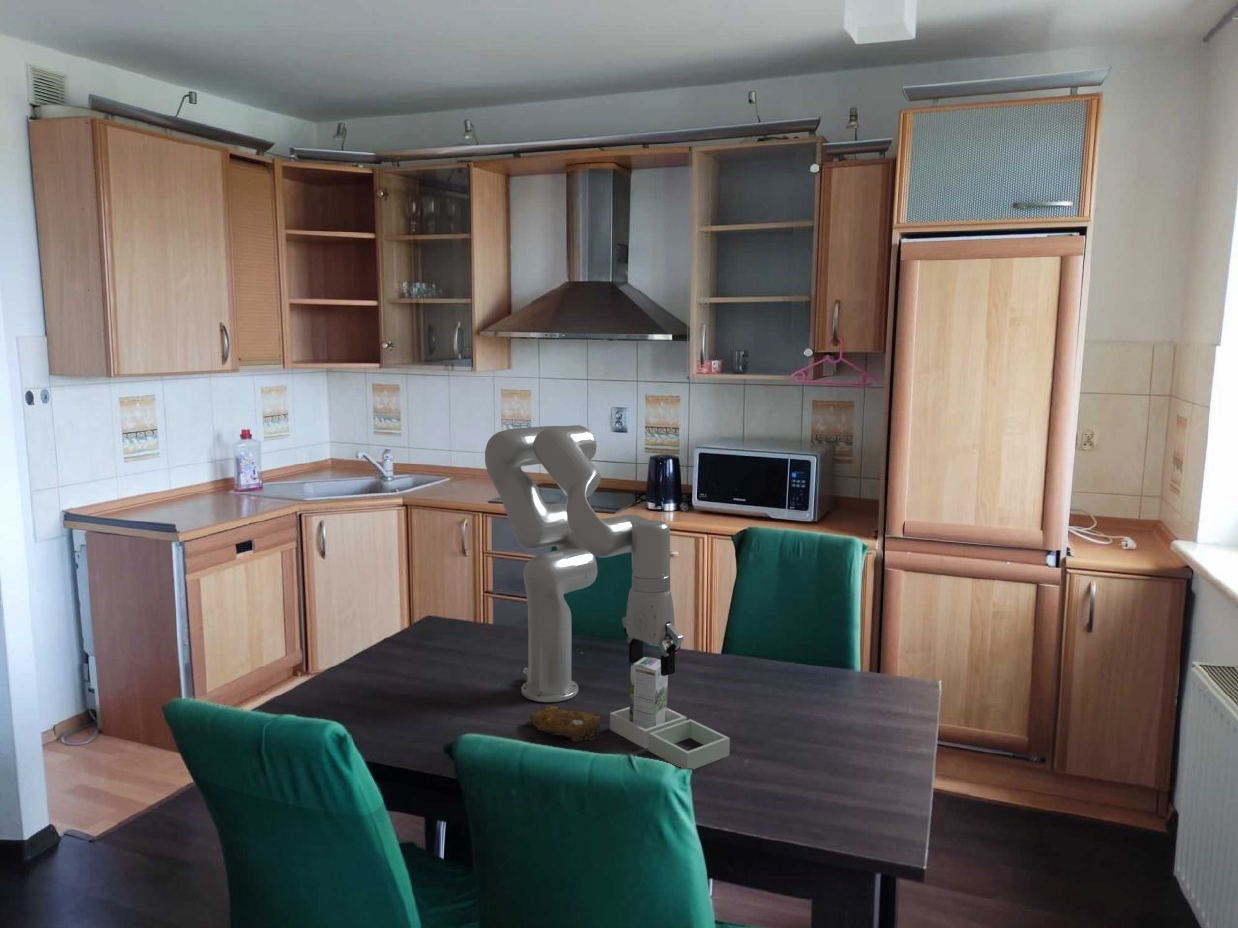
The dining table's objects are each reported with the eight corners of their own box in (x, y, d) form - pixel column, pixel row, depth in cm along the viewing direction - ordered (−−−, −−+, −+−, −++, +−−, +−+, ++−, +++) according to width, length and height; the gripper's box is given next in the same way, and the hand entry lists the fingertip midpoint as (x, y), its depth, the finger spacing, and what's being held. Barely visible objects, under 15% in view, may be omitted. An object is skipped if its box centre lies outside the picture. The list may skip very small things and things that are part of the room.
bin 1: (609, 729, 185) (610, 712, 185) (650, 716, 192) (651, 700, 192) (644, 748, 177) (645, 731, 176) (686, 733, 184) (686, 717, 183)
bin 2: (648, 750, 176) (648, 733, 176) (690, 735, 183) (690, 719, 182) (687, 771, 168) (687, 753, 167) (729, 755, 174) (729, 737, 174)
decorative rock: (516, 739, 182) (588, 752, 178) (516, 720, 181) (588, 733, 177) (538, 714, 193) (606, 726, 188) (539, 695, 192) (607, 707, 187)
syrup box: (641, 723, 188) (642, 655, 186) (667, 729, 186) (668, 660, 184) (628, 733, 183) (629, 664, 181) (654, 740, 181) (656, 669, 179)
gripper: (608, 578, 185) (609, 660, 187) (666, 595, 171) (666, 684, 173) (637, 572, 189) (638, 653, 191) (695, 588, 176) (695, 675, 178)
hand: (651, 667), depth 182 cm, fingers open, 9 cm apart
